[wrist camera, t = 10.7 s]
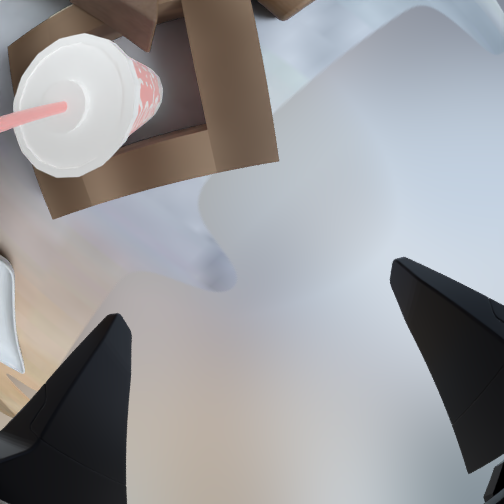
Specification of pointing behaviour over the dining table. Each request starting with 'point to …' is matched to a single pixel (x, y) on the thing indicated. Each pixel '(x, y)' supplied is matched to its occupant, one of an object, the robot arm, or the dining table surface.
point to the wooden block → (146, 11)
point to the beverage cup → (80, 104)
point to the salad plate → (8, 319)
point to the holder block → (181, 141)
